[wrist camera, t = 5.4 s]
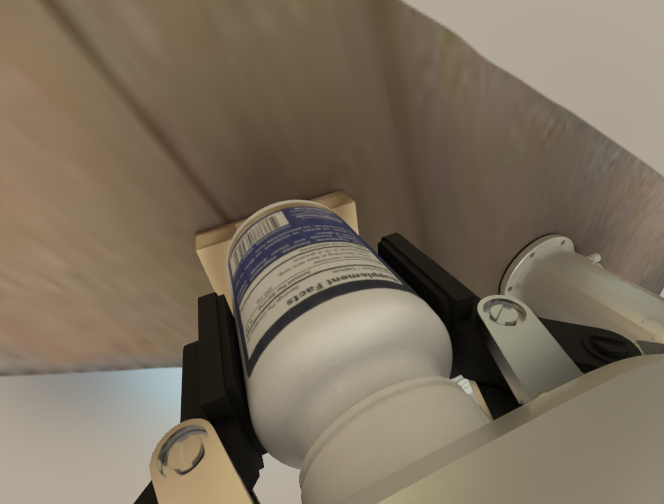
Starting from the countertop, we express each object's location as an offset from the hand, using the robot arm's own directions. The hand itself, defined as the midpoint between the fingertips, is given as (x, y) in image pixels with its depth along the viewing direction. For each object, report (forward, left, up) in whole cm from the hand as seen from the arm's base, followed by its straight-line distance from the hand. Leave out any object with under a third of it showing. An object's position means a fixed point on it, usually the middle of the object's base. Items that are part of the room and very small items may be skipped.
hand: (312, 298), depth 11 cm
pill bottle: (0, 0, -3) cm, 3 cm away
